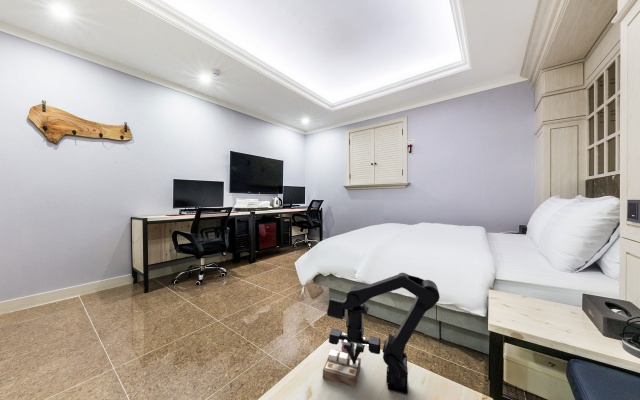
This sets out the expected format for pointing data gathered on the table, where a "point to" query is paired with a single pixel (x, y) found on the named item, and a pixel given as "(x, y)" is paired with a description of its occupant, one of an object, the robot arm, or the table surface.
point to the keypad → (342, 372)
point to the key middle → (343, 358)
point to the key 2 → (354, 364)
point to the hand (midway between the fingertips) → (354, 362)
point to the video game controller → (344, 348)
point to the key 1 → (333, 355)
